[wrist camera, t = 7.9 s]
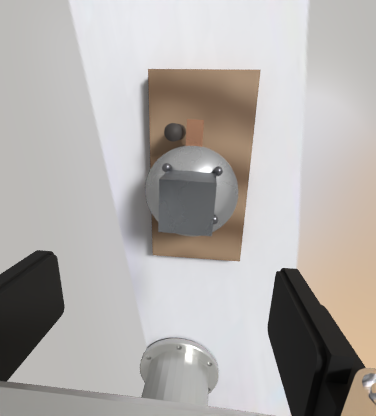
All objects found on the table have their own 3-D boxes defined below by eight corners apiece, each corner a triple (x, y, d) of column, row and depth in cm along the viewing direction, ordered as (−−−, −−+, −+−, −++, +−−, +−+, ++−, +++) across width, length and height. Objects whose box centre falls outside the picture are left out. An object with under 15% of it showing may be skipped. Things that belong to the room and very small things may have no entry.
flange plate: (231, 233, 25) (237, 264, 20) (149, 226, 26) (131, 254, 20) (245, 122, 22) (256, 119, 16) (148, 117, 22) (127, 113, 17)
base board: (238, 253, 31) (243, 280, 26) (156, 247, 32) (144, 272, 27) (256, 74, 25) (270, 58, 19) (152, 73, 26) (136, 57, 20)
